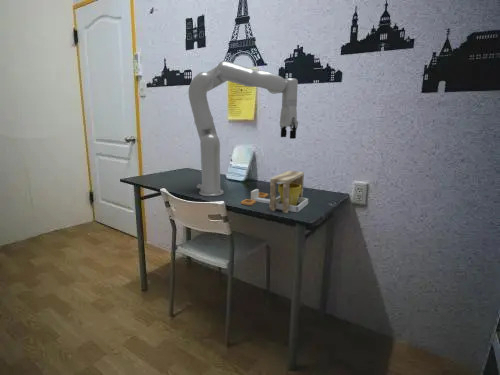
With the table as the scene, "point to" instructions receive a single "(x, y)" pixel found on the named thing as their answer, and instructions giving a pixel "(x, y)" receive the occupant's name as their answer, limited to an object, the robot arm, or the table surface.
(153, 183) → the table surface
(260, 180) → the table surface
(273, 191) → the tunnel
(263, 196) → the pit tray near left
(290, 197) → the plant pot
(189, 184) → the table surface
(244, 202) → the pit tray near right
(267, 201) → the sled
